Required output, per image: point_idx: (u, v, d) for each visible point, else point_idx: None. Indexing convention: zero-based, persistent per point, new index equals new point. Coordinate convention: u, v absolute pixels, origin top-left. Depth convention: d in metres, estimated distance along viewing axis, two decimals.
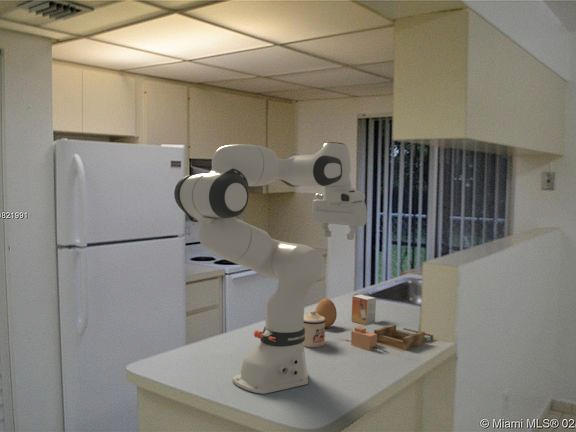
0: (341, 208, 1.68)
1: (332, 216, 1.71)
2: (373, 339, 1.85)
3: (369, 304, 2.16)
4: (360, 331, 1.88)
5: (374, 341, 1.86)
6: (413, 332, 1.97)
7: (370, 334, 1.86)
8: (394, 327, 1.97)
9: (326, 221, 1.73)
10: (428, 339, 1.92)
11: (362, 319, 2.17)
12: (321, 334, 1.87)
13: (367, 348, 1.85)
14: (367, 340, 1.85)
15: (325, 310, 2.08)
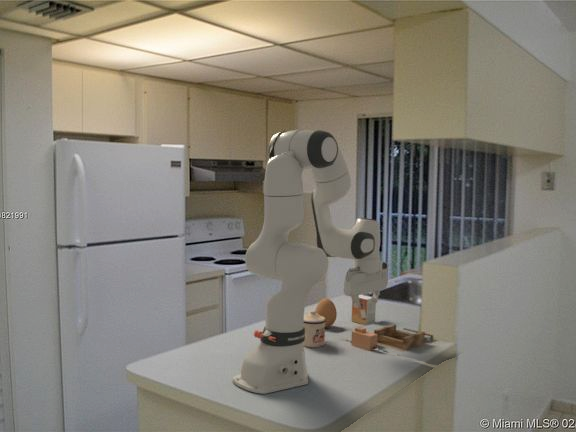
0: (374, 276, 1.88)
1: (368, 285, 1.85)
2: (373, 339, 1.85)
3: (369, 304, 2.16)
4: (360, 331, 1.88)
5: (374, 341, 1.86)
6: (413, 332, 1.97)
7: (370, 334, 1.86)
8: (394, 327, 1.97)
9: (363, 292, 1.84)
10: (428, 339, 1.92)
11: (362, 319, 2.17)
12: (321, 334, 1.87)
13: (367, 349, 1.85)
14: (368, 340, 1.84)
15: (325, 310, 2.08)
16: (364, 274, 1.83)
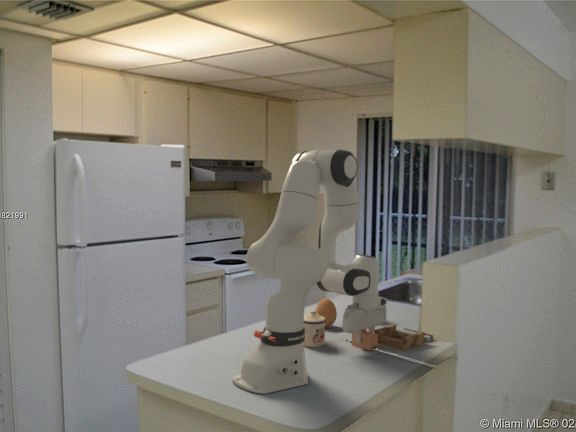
0: (373, 312, 1.89)
1: (367, 321, 1.86)
2: (373, 339, 1.85)
3: None
4: (361, 331, 1.88)
5: (375, 341, 1.86)
6: (413, 332, 1.97)
7: (371, 334, 1.86)
8: (394, 327, 1.97)
9: (362, 328, 1.84)
10: (428, 339, 1.92)
11: None
12: (321, 334, 1.87)
13: (367, 348, 1.85)
14: (368, 340, 1.84)
15: (325, 310, 2.08)
16: (363, 310, 1.84)
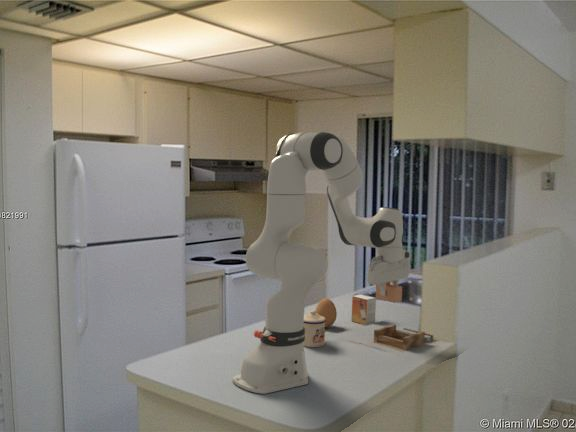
0: (397, 265, 1.89)
1: (391, 274, 1.86)
2: (398, 291, 1.86)
3: (369, 304, 2.16)
4: None
5: (399, 293, 1.86)
6: (413, 332, 1.97)
7: (395, 286, 1.86)
8: (394, 327, 1.97)
9: (387, 281, 1.85)
10: (428, 339, 1.92)
11: (362, 319, 2.17)
12: (321, 334, 1.87)
13: (392, 301, 1.85)
14: (393, 292, 1.85)
15: (325, 310, 2.08)
16: (387, 263, 1.84)
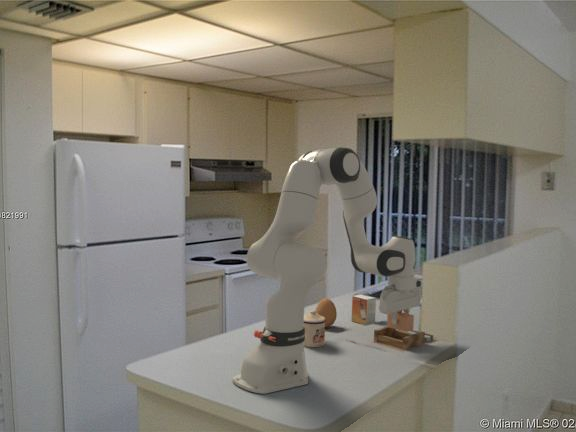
0: (408, 294, 1.90)
1: (403, 303, 1.87)
2: (410, 320, 1.86)
3: (369, 304, 2.16)
4: None
5: (411, 322, 1.87)
6: (413, 332, 1.97)
7: (407, 315, 1.87)
8: None
9: (398, 310, 1.86)
10: (428, 339, 1.92)
11: (362, 319, 2.17)
12: (321, 334, 1.87)
13: (404, 329, 1.86)
14: (405, 321, 1.86)
15: (325, 310, 2.08)
16: (399, 292, 1.85)
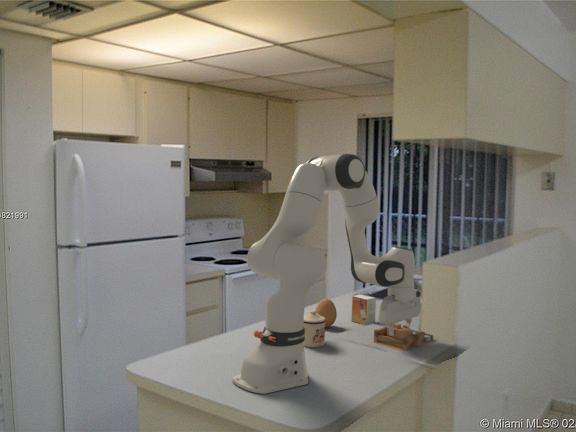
0: (408, 304, 1.90)
1: (403, 313, 1.87)
2: None
3: (369, 304, 2.16)
4: (396, 327, 1.89)
5: None
6: (413, 332, 1.97)
7: (406, 330, 1.87)
8: None
9: (398, 320, 1.86)
10: (428, 339, 1.92)
11: (362, 319, 2.17)
12: (321, 334, 1.87)
13: None
14: (404, 336, 1.86)
15: (325, 310, 2.08)
16: (399, 302, 1.85)
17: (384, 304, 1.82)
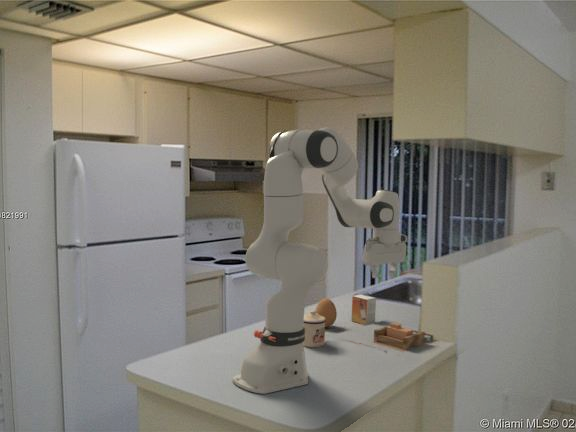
0: (393, 248, 1.91)
1: (387, 256, 1.88)
2: None
3: (369, 304, 2.16)
4: (396, 327, 1.89)
5: None
6: (413, 332, 1.97)
7: (406, 330, 1.87)
8: None
9: (382, 262, 1.87)
10: (428, 339, 1.92)
11: (362, 319, 2.17)
12: (321, 334, 1.87)
13: None
14: (404, 336, 1.86)
15: (325, 310, 2.08)
16: (383, 245, 1.86)
17: (368, 245, 1.83)
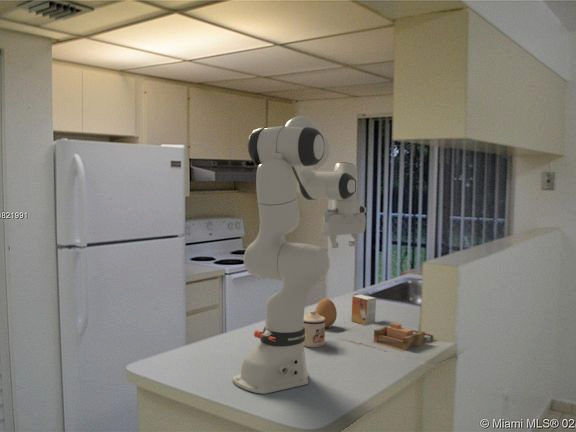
0: (352, 219, 1.96)
1: (346, 227, 1.94)
2: None
3: (369, 304, 2.16)
4: (396, 327, 1.89)
5: None
6: (413, 332, 1.97)
7: (406, 330, 1.87)
8: None
9: (341, 233, 1.92)
10: (428, 339, 1.92)
11: (362, 319, 2.17)
12: (321, 334, 1.87)
13: None
14: (404, 336, 1.86)
15: (325, 310, 2.08)
16: (342, 215, 1.92)
17: (326, 216, 1.88)
